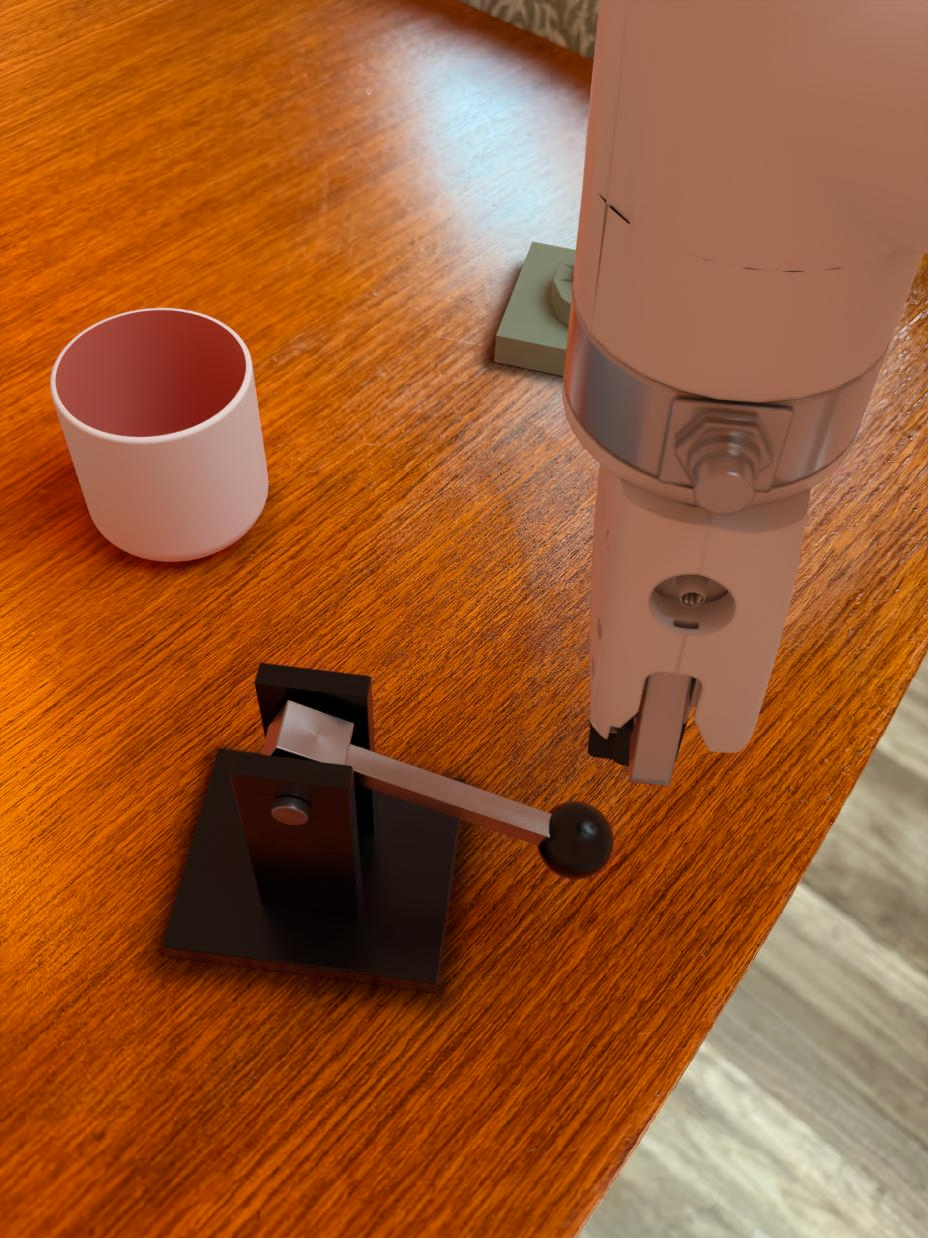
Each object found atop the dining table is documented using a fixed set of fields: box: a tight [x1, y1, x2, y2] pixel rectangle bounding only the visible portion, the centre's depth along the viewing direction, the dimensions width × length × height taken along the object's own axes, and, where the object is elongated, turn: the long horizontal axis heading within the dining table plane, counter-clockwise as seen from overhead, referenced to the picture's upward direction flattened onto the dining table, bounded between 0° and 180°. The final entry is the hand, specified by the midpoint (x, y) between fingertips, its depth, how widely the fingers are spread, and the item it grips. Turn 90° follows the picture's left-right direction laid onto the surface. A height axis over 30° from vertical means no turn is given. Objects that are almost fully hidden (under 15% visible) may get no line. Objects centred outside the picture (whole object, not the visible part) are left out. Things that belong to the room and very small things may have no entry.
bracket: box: [161, 662, 467, 993], centre depth 50 cm, size 12×10×13 cm
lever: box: [261, 700, 615, 880], centre depth 48 cm, size 15×3×3 cm, turn 83°
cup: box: [49, 307, 269, 563], centre depth 64 cm, size 10×10×10 cm
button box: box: [493, 241, 576, 377], centre depth 77 cm, size 12×10×4 cm
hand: (631, 742), depth 44 cm, fingers closed
